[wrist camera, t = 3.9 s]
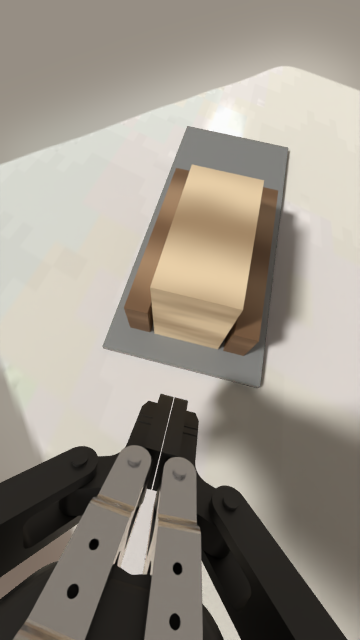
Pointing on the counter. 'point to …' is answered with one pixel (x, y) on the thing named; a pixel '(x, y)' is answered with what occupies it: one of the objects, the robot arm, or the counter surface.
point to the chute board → (271, 168)
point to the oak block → (206, 257)
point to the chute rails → (250, 318)
